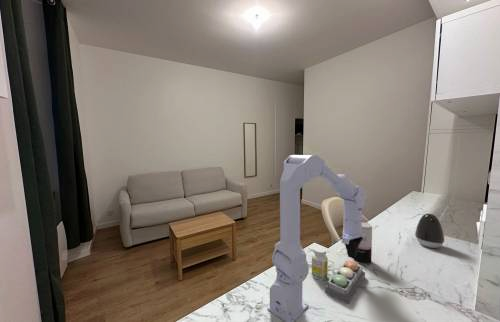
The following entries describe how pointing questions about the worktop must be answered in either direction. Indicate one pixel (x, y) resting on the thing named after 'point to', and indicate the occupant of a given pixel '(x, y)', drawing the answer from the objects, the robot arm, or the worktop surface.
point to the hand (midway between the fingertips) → (351, 257)
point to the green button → (340, 280)
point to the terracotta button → (351, 265)
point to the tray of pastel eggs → (351, 288)
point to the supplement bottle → (319, 263)
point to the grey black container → (365, 245)
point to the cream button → (346, 272)
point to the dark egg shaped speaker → (429, 231)
